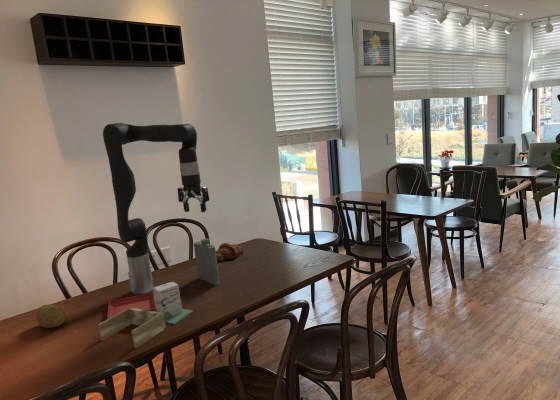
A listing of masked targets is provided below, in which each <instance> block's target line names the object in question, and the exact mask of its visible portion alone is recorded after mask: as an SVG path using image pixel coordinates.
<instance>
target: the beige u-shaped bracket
mask: <svg viewBox="0 0 560 400" xmlns="http://www.w3.org/2000/svg"><path fill="white" fill-rule="evenodd" d="M130 325H136V328H134V329H132V330H131V337H132V338H131V339H132V343H133V347H134V348H135V349H137V348H139V347H140V346H142V345H144V344H145V343H146V342H148V341H149V340H151V339H153V338H154V337H155V336H156V335H158V334H160V333H162V332H163V331H165V330H166V329H167V326H166V323H165V320H164V313H161V312H157V311H155V310H154V311H148V310H142V309H136V308H130V307H128V308H127V309H125V310H123V311H121V312H120V313H118V314H116V315H114V316H112V317H111V318H109V319H108V318H107V319H105V320H104V321H101V322H100V323H98V324H97V327H98V331H99V337H100V340H101V341H106V340H107V339H108V338H110V337H112V336H114V335H115V334H117V333H119V332H120V331H121V330H124V329H125V328H127V327H129V326H130ZM137 326H138V327H137Z"/></svg>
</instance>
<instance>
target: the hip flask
mask: <svg viewBox="0 0 560 400" xmlns="http://www.w3.org/2000/svg"><path fill="white" fill-rule="evenodd" d="M209 242H210V240H209V238H202V239H200V241H195V242H193V250H194V256H195V257H194V258H195V264H196V270H197V278H198V279H199V280H202V281H205V282H207V283H210V284H211V285H212V286H219V285H221V284H220V276H219V268H218V262H217V258H216V251H217V250H216V246H214V245H213V244H210V243H209Z"/></svg>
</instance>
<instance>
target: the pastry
mask: <svg viewBox="0 0 560 400" xmlns="http://www.w3.org/2000/svg"><path fill="white" fill-rule="evenodd" d="M215 251H216V258H217V263H222V262H224V261H231V260H233V259H234V260H235V259H236V258H238V257H239V256H240V255H241V254H242V253H244V249H243V246H239V245H237V244H236V243H233V244H230V243H227V242H223V243H221V244H219V248H218V249H217V250H215Z"/></svg>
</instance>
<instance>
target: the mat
mask: <svg viewBox="0 0 560 400" xmlns="http://www.w3.org/2000/svg"><path fill="white" fill-rule="evenodd" d="M193 312H194V310H193V309H185V308H182V313H179V314H177V315H174V316H172V317H169V318H166V319H164V320H165V324H170V325H174V326H175V325H176V324H178V323H179V322H180V321H183V320H184V319H185V318H187V317H188V316H189V315H191V314H192V313H193Z"/></svg>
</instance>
